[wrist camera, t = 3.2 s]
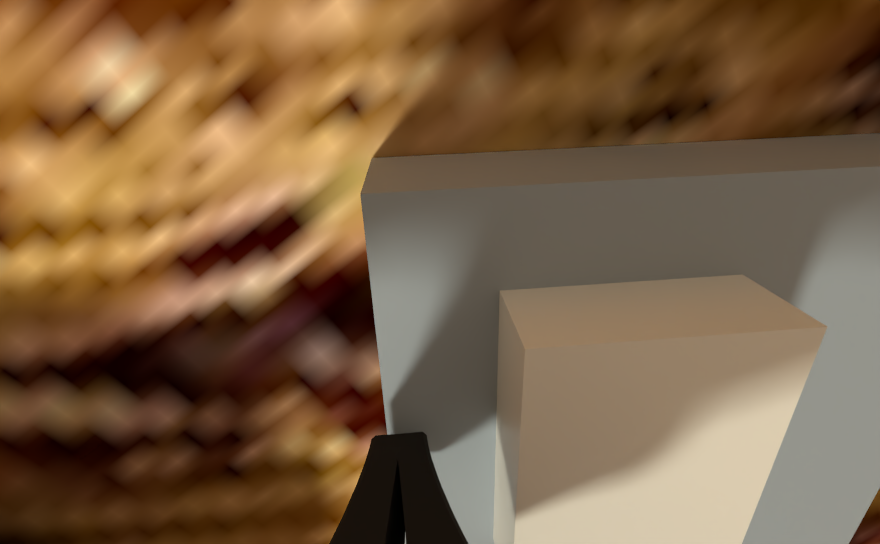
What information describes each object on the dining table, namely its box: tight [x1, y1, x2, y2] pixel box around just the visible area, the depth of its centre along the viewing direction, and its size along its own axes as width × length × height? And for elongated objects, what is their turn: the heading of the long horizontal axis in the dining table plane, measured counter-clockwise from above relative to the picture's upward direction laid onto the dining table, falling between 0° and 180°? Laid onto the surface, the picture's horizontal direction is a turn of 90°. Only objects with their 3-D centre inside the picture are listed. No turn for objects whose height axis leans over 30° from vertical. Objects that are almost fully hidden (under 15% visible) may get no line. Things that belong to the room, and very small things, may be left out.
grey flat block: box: [361, 133, 880, 544], centre depth 15 cm, size 14×16×4 cm
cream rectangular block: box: [493, 274, 827, 544], centre depth 12 cm, size 9×6×2 cm, turn 2°
